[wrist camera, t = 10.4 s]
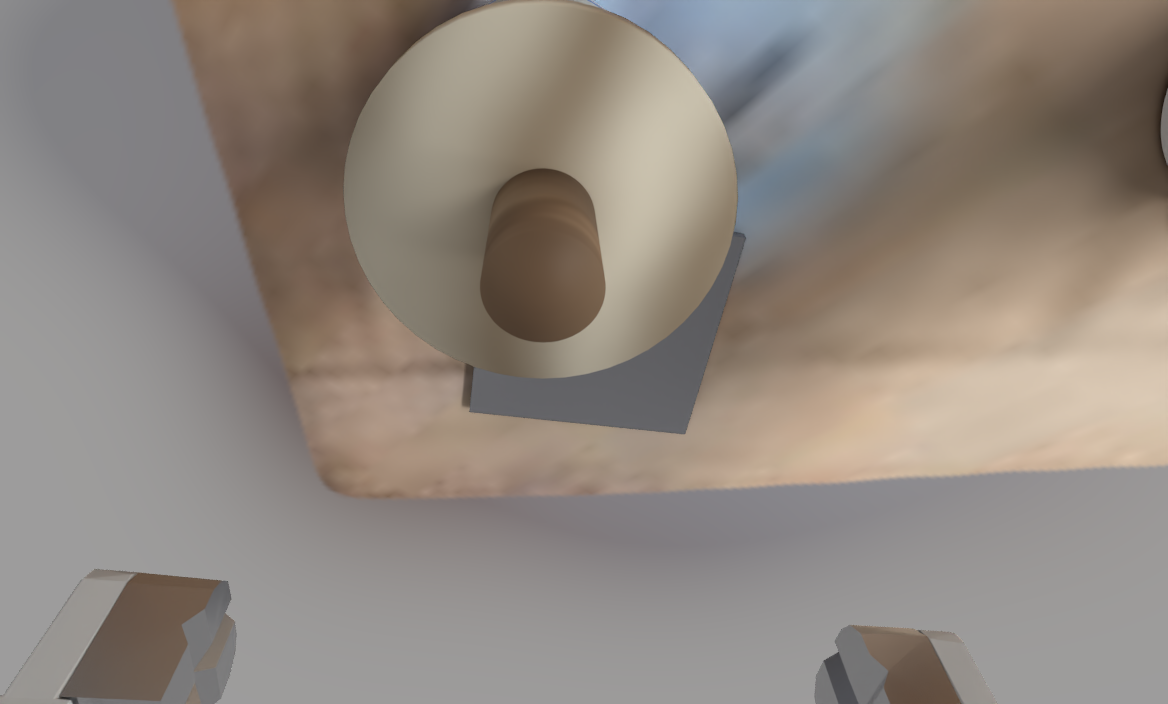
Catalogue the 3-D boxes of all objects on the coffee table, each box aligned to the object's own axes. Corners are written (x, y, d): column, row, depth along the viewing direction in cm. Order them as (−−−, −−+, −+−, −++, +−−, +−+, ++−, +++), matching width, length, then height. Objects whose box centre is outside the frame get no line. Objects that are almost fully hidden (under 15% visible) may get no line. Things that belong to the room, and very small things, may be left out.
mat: (743, 233, 40) (745, 238, 40) (683, 428, 48) (685, 434, 47) (491, 198, 39) (490, 202, 38) (470, 406, 46) (469, 411, 46)
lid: (776, 37, 21) (849, 86, 16) (679, 373, 27) (709, 484, 22) (353, -39, 20) (286, -12, 15) (354, 336, 26) (308, 445, 21)
